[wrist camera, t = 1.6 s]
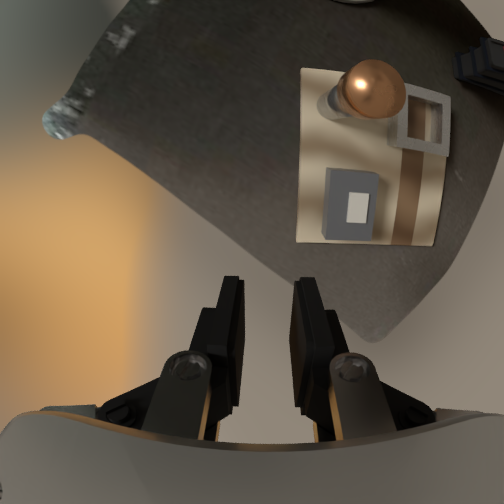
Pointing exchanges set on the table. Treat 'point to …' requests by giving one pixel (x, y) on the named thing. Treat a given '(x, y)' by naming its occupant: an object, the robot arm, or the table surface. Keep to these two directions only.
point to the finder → (349, 204)
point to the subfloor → (368, 168)
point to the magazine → (482, 65)
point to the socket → (438, 122)
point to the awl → (365, 93)
